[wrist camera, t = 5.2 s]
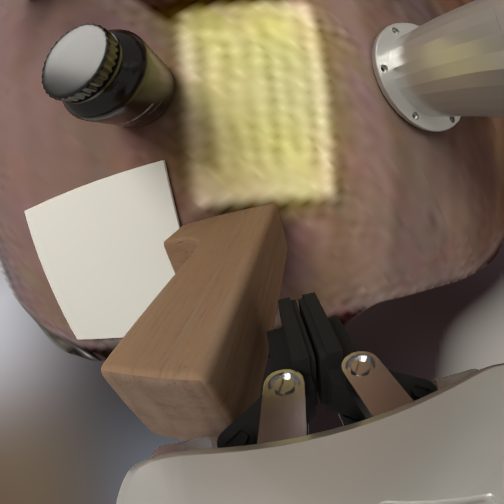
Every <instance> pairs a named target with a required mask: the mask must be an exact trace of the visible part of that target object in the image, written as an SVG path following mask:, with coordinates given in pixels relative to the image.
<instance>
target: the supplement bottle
mask: <svg viewBox="0 0 504 504" xmlns="http://www.w3.org/2000/svg"><path fill="white" fill-rule="evenodd" d="M42 71H43V73H42V84H43V89H45V91H46V93H47V94H49V96H50V97H51V98H54V99H55V100H60V101H62V102H63V104H64V106H65V108H66V109H67V110H68V111H69V113H70V114H72V115H73V116H75V117H76V118H78V119H81V120H85V121H90V122H98V123H105V124H112V125H119V126H126V127H140V126H144V125H147V124H149V123H151V122H153V121H155V120H156V119H158V118H159V117H160V116H161V115H162V114H163V113H164V112H165V111H166V110H167V108H168V107H169V105H170V103H171V101H172V98H173V95H174V90H175V83H174V78H173V75H172V73H171V71H170V70H169V68H168V67H167V66H166V65H165V64H164V62H163V61H162V60H161V59H160V58H159V57H158V56H157V55H156V54H155V53H154V52H153V50H152V49H151V48H150V47H149V46H148V45H147V44H146V43H145V42H144V41H143V40H142V39H141V38H140V37H139V36H137V35H136V34H134V33H133V32H130V31H127V30H121V29H114V30H106V29H105V28H103V27H101V26H100V25H95V24H86V25H80V26H79V27H76V28H74V29H72V30H71V31H69V32H67V33H66V34H65V35H64V36H62V37H61V38H60V40H59V41H57V42H56V44H55V45H54V47H53V48H52V49H51V51H50V53H49V54H48V55H47V59H46V61H45V62H44V67H43V70H42Z"/></svg>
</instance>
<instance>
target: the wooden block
mask: <svg viewBox="0 0 504 504" xmlns="http://www.w3.org/2000/svg"><path fill="white" fill-rule="evenodd" d="M164 248H165V250H166V253H167V255H168V258H169V260H170V262H171V265H172V267H173V270H174V272H175V275H174V276H173V277H172V279H171V280H170V281H169V282H168V283H167V284H166V286H165V287H164V288H163V289H162V290H161V292H160V293H159V294H158V295H157V296H156V298H155V299H154V300H153V301H152V302H151V304H150V305H149V306H148V307H147V309H146V310H145V311H144V312H143V314H142V315H141V316H140V317H139V318H138V320H137V321H136V322H135V323H134V325H133V326H132V327H131V328H130V330H129V331H128V332H127V333H126V335H125V336H124V337H123V339H122V340H121V341H120V342H119V344H118V345H117V346H116V348H115V349H114V350H113V351H112V353H111V354H110V355H109V357H108V358H107V359H106V361H105V362H104V363H103V365H102V368H101V372H102V375H103V376H104V378H105V379H106V380H107V382H108V383H109V384H110V385H111V386H112V388H113V389H114V390H115V391H116V393H117V394H118V395H119V396H120V397H121V398H122V400H123V401H124V402H125V403H126V404H127V405H128V407H129V408H130V409H131V410H132V411H133V412H134V413H135V414H136V415H137V416H138V417H139V418H140V419H141V421H142V422H143V423H144V424H145V425H146V426H147V427H148V428H149V429H150V430H151V431H152V432H154V433H155V434H157V435H161V436H166V437H171V438H175V439H181V440H186V441H189V440H193V439H198V438H202V437H206V436H211V438H212V437H216V436H219V435H220V434H221V433H222V431H223V430H225V429H226V428H227V427H228V426H229V425H230V424H231V423H233V422H234V421H235V420H236V419H237V418H238V417H239V416H240V415H242V414H243V413H244V412H245V411H246V410H247V409H248V408H249V407H250V406H251V405H252V404H254V403H255V402H256V401H257V400H258V399H259V394H260V390H261V385H262V381H263V376H264V371H265V367H266V362H267V357H268V353H269V345H268V339H267V331H270V330H273V328H274V323H275V318H276V312H277V307H278V300H279V297H280V291H281V286H282V280H283V275H284V269H285V263H286V257H287V251H288V245H287V241H286V237H285V233H284V229H283V225H282V221H281V217H280V213H279V209H278V207H277V205H276V204H267V205H263V206H258V207H254V208H249V209H245V210H240V211H236V212H232V213H227V214H223V215H219V216H215V217H211V218H207V219H203V220H198V221H194V222H191V223H187V224H184V225H183V226H182V227H181V228H179V229H178V230H177V231H176V232H175V233H173V234H172V235H171V236H170V237H169V238H168V239H166V240H165V241H164Z"/></svg>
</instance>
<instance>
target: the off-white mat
mask: <svg viewBox="0 0 504 504" xmlns="http://www.w3.org/2000/svg"><path fill="white" fill-rule="evenodd" d="M24 212H25V215H26V219H27V222H28V226H29V229H30V232H31V236H32V239H33V242H34V245H35V248H36V250H37V253H38V256H39V259H40V261H41V264H42V266H43V269H44V272H45V274H46V276H47V279H48V281H49V284H50V286H51V288H52V290H53V293H54V295H55V297H56V299H57V301H58V303H59V305H60V308H61V310H62V312H63V314H64V316H65V318H66V319H67V321H68V323H69V325H70V327H71V329H72V331H73V333H74V334H75V336H76V338H77V339H103V338H121V337H124V336H125V335H126V333H127V332H128V331H129V330H130V328H131V327H132V326H133V325H134V323H135V322H136V321H137V320H138V318H139V317H140V316H141V315H142V314H143V312H144V311H145V310H146V309H147V307H148V306H149V305H150V304H151V302H152V301H153V300H154V299H155V298H156V296H157V295H158V294H159V293H160V292H161V290H162V289H163V288H164V287H165V286H166V284H167V283H168V282H169V281H170V280H171V279H172V277H173V276H174V275H175V272H174V270H173V267H172V265H171V262H170V260H169V258H168V255H167V253H166V250H165V248H164V241H165V240H166V239H168V238H169V237H170V236H171V235H172V234H173V233H175V232H176V231H177V230H178V229H179V228H181V227H180V223H179V219H178V215H177V211H176V207H175V203H174V199H173V194H172V190H171V186H170V181H169V177H168V173H167V168H166V163H165V160H162V161H158V162H154V163H151V164H147V165H144V166H141V167H137V168H134V169H131V170H128V171H125V172H121V173H118V174H115V175H112V176H109V177H107V178H104V179H101V180H98V181H95V182H92V183H90V184H87V185H84V186H82V187H79V188H77V189H74V190H71V191H69V192H66V193H64V194H62V195H59V196H57V197H54V198H52V199H50V200H48V201H45V202H43V203H41V204H39V205H36V206H34V207H32V208H30V209H28V210H26V211H24Z"/></svg>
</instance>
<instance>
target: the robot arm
mask: <svg viewBox="0 0 504 504" xmlns="http://www.w3.org/2000/svg"><path fill="white" fill-rule="evenodd" d="M372 64H373V69H374V74H375V77H376V79H377V82H378V85H379V87H380V89H381V91H382V93H383V95H384V96H385V98H386V99H387V101H388V102H389V104H390V105H391V106H392V107H393V108H394V110H395V111H396V112H397V113H398V114H399V115H400V116H401V117H402V118H404V119H405V120H406V121H407V122H409V123H410V124H412V125H413V126H415V127H417V128H420V129H422V130H426V131H432V132H433V131H440V132H441V131H445V130H448V129H450V128H452V127H453V126H454V125H455V124H456V123H457V122H458V121H459V120H460V118H461V116H484V117H504V0H476V1H473V2H471V3H468V4H466V5H463V6H461V7H459V8H456V9H454V10H452V11H450V12H447V13H445V14H443V15H441V16H439V17H437V18H435V19H433V20H431V21H429V22H427V23H425V24H423V25H421V26H417V25H414V24H411V23H395V24H392V25H390V26H388V27H386V28H385V29H383V30H382V31H381V32H380V33H379V34H378V35H377V37H376V39H375V41H374V43H373V49H372ZM278 305H279V311H280V317H281V323H282V328H281V329H276V330H270V331H267V339H268V345H269V352H270V359H271V365H272V372H273V373H272V374H270V375H269V376H268V377H267V379H266V380H265V382H264V385H263V394H262V396H261V397H260V398H259V399H258V400H257V401H256V402H255V403H254V404H252V405H251V406H250V407H249V408H248V409H247V410H246V411H245V412H244V413H243V414H242V415H240V416H239V417H238V418H237V419H236V420H235V421H234V422H233V423H231V424H230V425H229V426H228V427H227V428H226V429H225V430H223V431H222V433H221V434H220V435H219V436H216V437H212V438H211V436H206V437H202V438H198V439H193V440H189V441H184V442H179V443H174V444H168V445H164V446H161V447H159V448H157V449H156V450H155V451H154V453H153V454H152V458H149V459H146V460H144V461H141V462H140V463H138V464H136V465H134V466H133V467H132V468H131V469H130V470H129V472H128V473H127V475H126V477H125V478H124V480H123V483H122V485H121V488H120V491H119V495H118V498H117V502H116V504H504V363H502V364H497V365H492V366H489V367H486V368H483V369H480V370H478V369H470V370H467V371H464V372H460V373H457V374H453V375H449V376H446V377H441V378H438V379H435V381H434V382H431V381H428V380H426V379H422V378H417V377H413V376H410V375H406V374H402V373H398V372H394V371H391V370H388V369H387V368H386V367H385V366H384V365H383V364H382V362H381V361H380V360H379V359H378V358H377V357H376V356H375V355H374V354H372V353H369V352H364V351H359V352H357V351H356V349H355V347H354V345H353V343H352V341H351V340H350V338H349V336H348V334H347V332H346V330H345V328H344V327H343V325H342V323H341V321H340V319H339V318H338V317H337V316H335V317H331V318H327V316H326V314H325V312H324V310H323V308H322V306H321V304H320V302H319V300H318V298H317V296H316V294H315V293H309V294H304V295H302V298H301V299H299V309H300V312H299V309H298V306H297V303H296V301H295V300H291V299H290V298H285V299H280V300H278ZM317 392H318V396H319V399H320V403H321V404H325V403H326V406H327V409H328V410H330V409H331V410H333V411H336V412H338V413H339V417H340V419H341V421H342V422H343V424H344V426H343V427H339V428H335V429H331V430H328V431H324V432H319V433H315V434H311V435H309V430H308V423H309V421H310V420H311V419H312V418H313V416H314V415H315V414H316V410H315V406H317V405H318V402H317Z"/></svg>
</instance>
